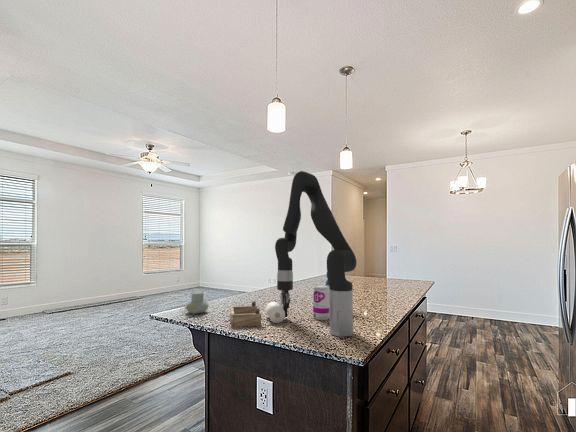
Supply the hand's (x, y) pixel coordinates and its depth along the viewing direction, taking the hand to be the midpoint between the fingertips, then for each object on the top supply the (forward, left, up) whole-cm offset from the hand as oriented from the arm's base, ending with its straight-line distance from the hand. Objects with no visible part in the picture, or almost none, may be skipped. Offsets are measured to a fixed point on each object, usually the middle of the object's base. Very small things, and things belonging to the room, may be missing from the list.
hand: (284, 316), depth 148 cm
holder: (0, +18, -1) cm, 19 cm away
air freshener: (+22, +41, -1) cm, 47 cm away
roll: (0, +5, +2) cm, 5 cm away
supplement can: (-2, -18, -1) cm, 18 cm away
